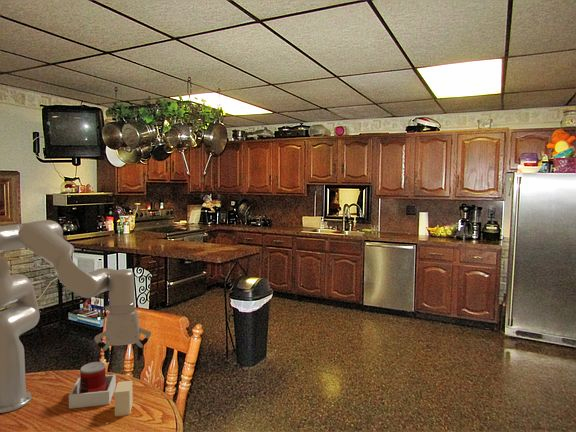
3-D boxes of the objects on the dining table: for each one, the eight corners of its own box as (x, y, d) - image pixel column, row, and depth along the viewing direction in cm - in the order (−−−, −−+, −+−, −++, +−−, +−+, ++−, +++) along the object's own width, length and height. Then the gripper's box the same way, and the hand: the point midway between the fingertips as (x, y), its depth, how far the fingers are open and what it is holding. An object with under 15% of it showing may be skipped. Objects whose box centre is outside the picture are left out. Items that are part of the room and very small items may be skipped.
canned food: (110, 391, 144) (109, 362, 143) (97, 403, 136) (96, 372, 135) (90, 390, 145) (89, 360, 144) (76, 402, 137) (75, 371, 136)
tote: (69, 408, 133) (68, 395, 133) (79, 389, 145) (78, 377, 145) (109, 404, 136) (109, 391, 136) (115, 386, 148) (115, 374, 148)
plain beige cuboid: (114, 416, 129) (114, 392, 129) (118, 404, 136) (118, 381, 135) (129, 414, 130) (129, 390, 130) (132, 403, 137) (132, 380, 136)
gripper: (90, 314, 125) (92, 367, 126) (149, 310, 129) (150, 361, 130) (96, 306, 132) (97, 357, 133) (151, 303, 136) (152, 352, 137)
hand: (124, 359), depth 132 cm, fingers open, 9 cm apart
